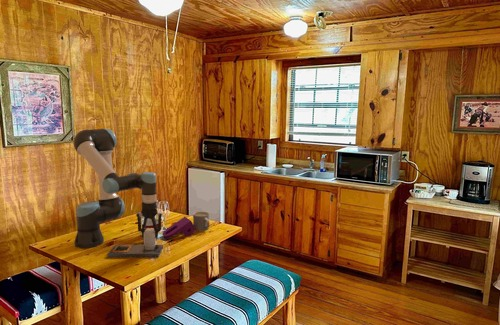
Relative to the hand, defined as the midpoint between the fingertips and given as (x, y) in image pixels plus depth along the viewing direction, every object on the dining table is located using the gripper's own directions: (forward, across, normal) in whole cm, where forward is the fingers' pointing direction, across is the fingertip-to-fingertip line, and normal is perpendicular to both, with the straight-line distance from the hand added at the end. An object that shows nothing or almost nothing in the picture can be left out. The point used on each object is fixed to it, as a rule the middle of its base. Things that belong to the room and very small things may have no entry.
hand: (150, 243), depth 184 cm
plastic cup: (+5, -3, +17) cm, 18 cm away
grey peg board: (+5, -7, 0) cm, 9 cm away
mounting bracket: (+6, +11, +26) cm, 28 cm away
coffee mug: (+5, +25, +36) cm, 44 cm away
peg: (+4, 0, 0) cm, 4 cm away
